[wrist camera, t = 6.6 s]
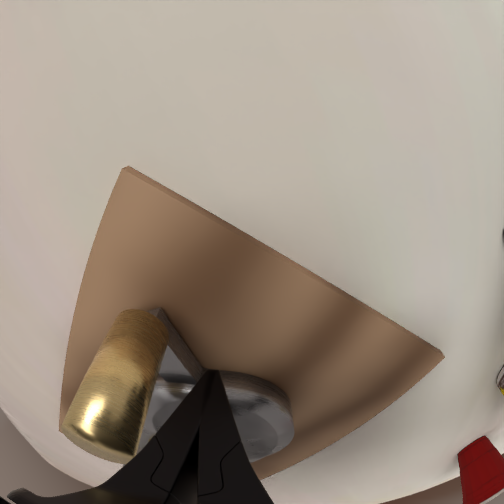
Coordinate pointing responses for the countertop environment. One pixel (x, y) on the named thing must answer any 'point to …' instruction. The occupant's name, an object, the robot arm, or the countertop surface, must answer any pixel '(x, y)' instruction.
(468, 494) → the plastic cup
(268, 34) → the countertop surface
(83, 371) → the wooden base board
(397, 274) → the countertop surface
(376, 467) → the countertop surface
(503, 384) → the supplement bottle
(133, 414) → the wheel
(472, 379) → the countertop surface
